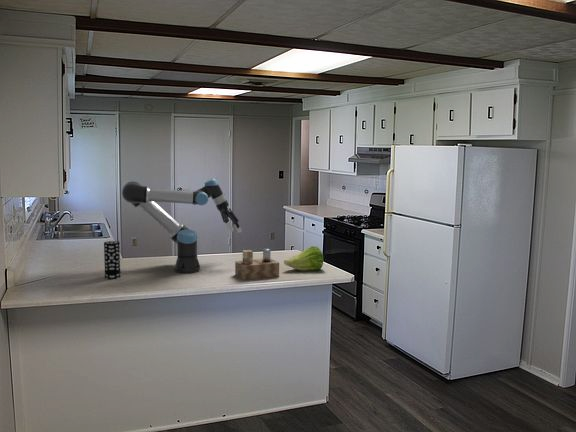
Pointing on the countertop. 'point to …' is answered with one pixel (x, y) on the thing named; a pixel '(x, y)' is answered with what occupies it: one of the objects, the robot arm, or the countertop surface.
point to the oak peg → (247, 257)
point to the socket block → (257, 269)
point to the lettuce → (306, 260)
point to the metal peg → (266, 255)
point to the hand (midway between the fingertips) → (236, 231)
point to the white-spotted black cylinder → (112, 259)
